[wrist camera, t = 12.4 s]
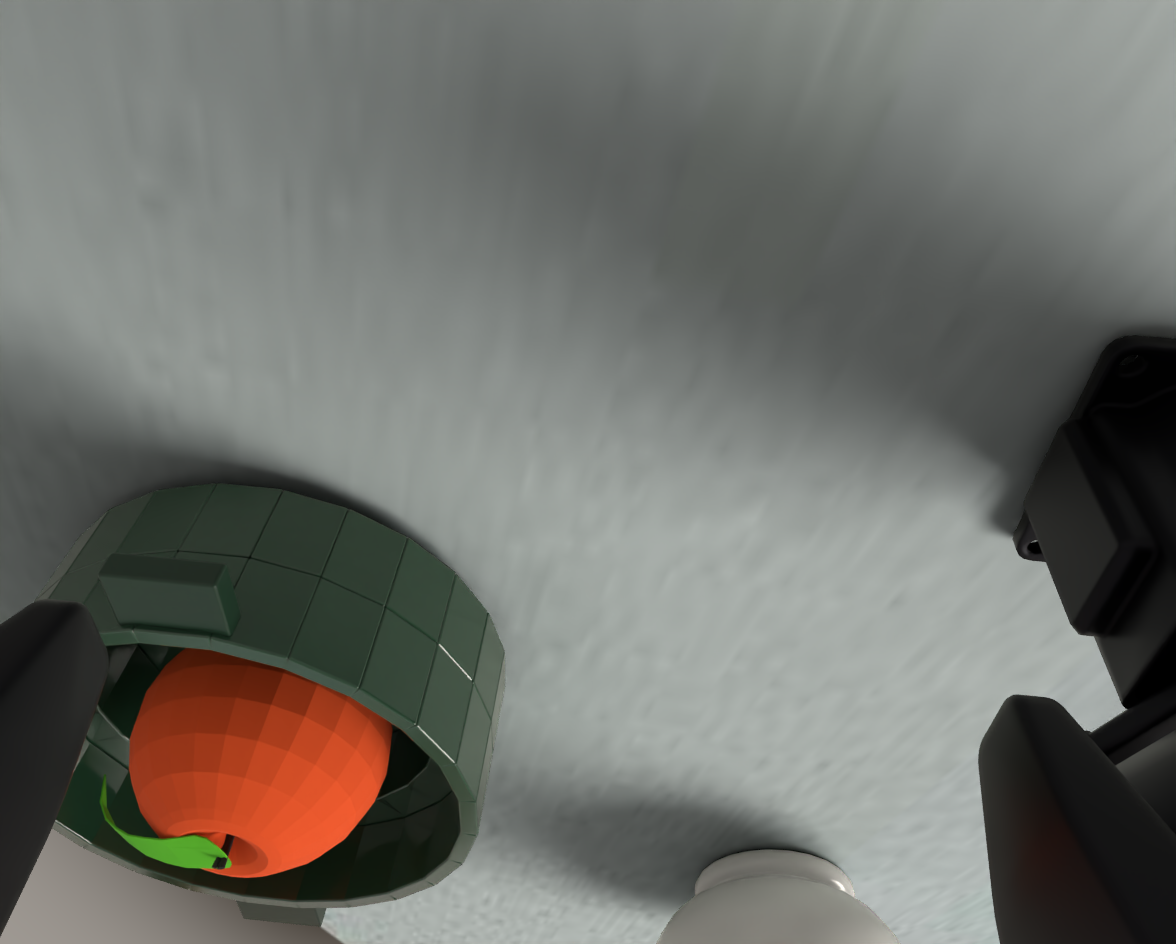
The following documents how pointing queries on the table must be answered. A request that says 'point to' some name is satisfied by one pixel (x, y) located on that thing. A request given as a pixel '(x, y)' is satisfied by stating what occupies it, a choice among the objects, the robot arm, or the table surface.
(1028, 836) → the robot arm
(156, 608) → the colander handles
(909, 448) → the table surface
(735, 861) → the flower vase
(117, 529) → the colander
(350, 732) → the clementine
